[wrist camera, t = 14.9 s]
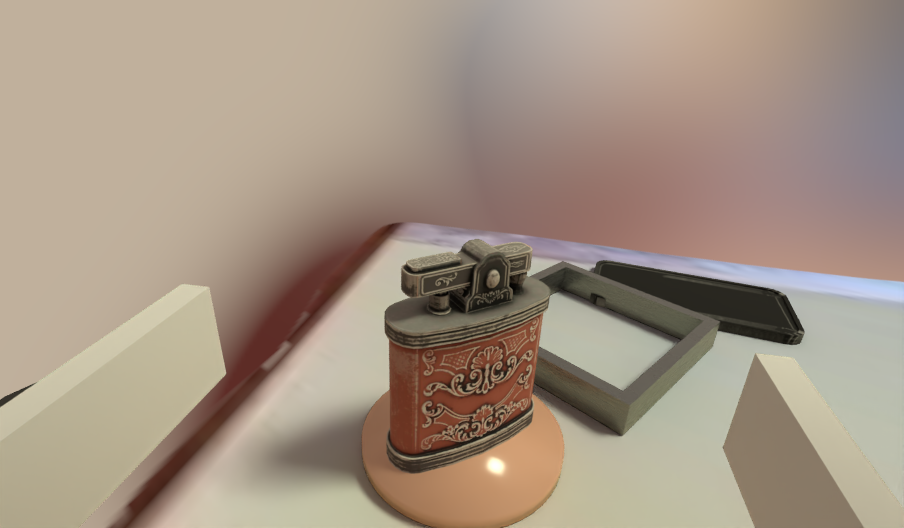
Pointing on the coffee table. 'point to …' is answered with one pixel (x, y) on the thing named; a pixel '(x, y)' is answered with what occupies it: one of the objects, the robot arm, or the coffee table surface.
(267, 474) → the coffee table surface
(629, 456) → the coffee table surface
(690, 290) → the phone
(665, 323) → the holder frame
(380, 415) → the coaster
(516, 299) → the lighter
